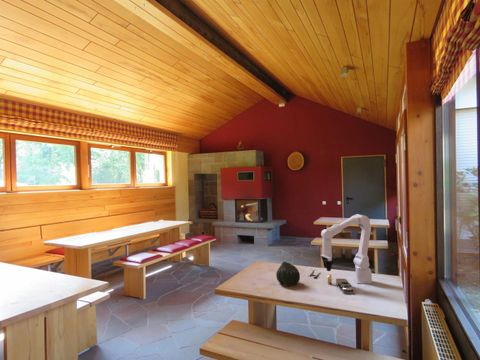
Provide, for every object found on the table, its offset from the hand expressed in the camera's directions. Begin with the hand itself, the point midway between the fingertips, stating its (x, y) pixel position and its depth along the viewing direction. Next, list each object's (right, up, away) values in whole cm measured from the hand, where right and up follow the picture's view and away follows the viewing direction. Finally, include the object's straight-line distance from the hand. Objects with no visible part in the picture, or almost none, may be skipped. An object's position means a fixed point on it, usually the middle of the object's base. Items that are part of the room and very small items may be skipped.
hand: (327, 269), depth 194 cm
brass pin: (+1, -9, -1) cm, 10 cm away
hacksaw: (-4, -10, +22) cm, 25 cm away
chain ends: (+8, -9, -10) cm, 16 cm away
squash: (-26, -10, 0) cm, 28 cm away
